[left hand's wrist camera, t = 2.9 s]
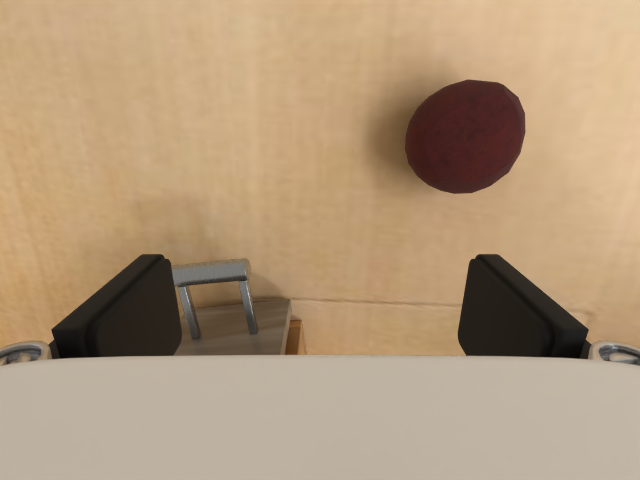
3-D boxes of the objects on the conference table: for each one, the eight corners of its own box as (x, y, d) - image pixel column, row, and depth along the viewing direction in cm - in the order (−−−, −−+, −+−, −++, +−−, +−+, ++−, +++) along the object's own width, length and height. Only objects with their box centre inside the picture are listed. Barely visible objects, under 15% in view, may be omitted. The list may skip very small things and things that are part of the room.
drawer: (170, 245, 30) (103, 305, 21) (279, 234, 29) (260, 290, 20) (223, 438, 37) (191, 543, 28) (311, 432, 37) (307, 537, 28)
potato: (381, 114, 27) (400, 115, 20) (481, 63, 25) (536, 47, 19) (416, 199, 29) (443, 226, 22) (509, 156, 28) (567, 172, 21)
